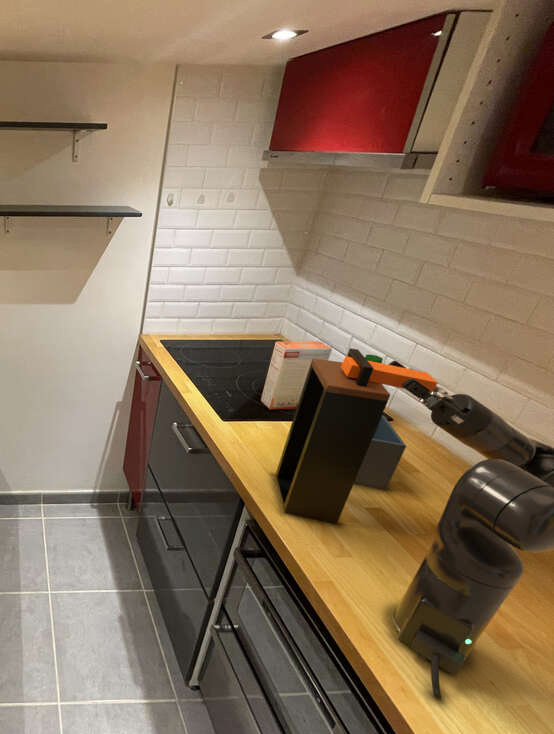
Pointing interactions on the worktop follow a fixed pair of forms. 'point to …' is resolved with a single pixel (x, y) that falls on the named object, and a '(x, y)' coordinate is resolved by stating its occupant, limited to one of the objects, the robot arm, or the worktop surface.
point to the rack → (329, 438)
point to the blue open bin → (381, 457)
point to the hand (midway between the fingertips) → (398, 372)
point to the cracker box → (290, 372)
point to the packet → (388, 374)
